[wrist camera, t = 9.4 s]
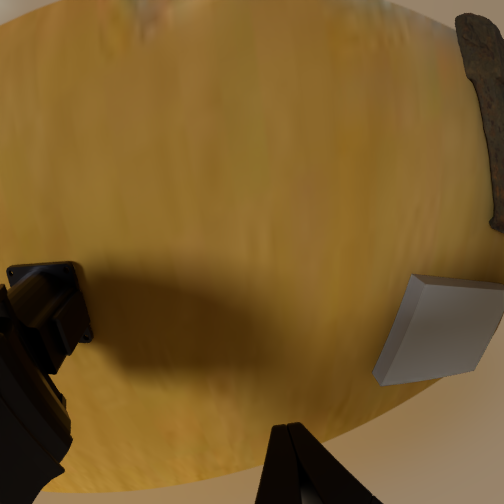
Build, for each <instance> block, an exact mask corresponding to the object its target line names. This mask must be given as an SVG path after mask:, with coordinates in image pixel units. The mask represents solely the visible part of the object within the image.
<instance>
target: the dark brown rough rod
mask: <svg viewBox="0 0 504 504" xmlns="http://www.w3.org/2000/svg"><path fill="white" fill-rule="evenodd" d="M455 27H456V32H457V37H458V44H459V46H460V50H461V54H462V57H463V62H464V67H465V72H466V76H467V78H468V79H469V80H471V81H472V82H473V84H474V86H475V89H476V91H477V94H478V98H479V102H480V107H481V113H482V118H483V126H484V130H485V133H486V137H487V143H488V149H489V157H490V167H491V174H492V185H493V199H494V217H493V218H492V219H491V220H490V221H489V224H490V226H491V228H493V229H496V230H498V231H500V232H501V233H504V39H503V38H502V36H501V34H500V31H499V29H498V28H497V26H496V25H494V24H493V23H492V22H491V21H490V20H489V19H487V18H485V17H483V16H480V15H475V14H472V13H464V14H462V15H459V16H457V17H456V18H455Z"/></svg>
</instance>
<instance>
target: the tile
mask: <svg viewBox="0 0 504 504" xmlns="http://www.w3.org/2000/svg"><path fill="white" fill-rule="evenodd" d="M503 312H504V285H502V284H501V283H491V282H482V281H473V280H464V279H455V278H446V277H436V276H427V275H418V274H411V277H410V280H409V283H408V286H407V289H406V291H405V294H404V297H403V300H402V303H401V305H400V308H399V311H398V313H397V316H396V318H395V321H394V323H393V326H392V328H391V331H390V333H389V336H388V338H387V340H386V343H385V345H384V347H383V350H382V352H381V354H380V356H379V359H378V361H377V363H376V365H375V367H374V369H373V372H372V374H373V375H374V377H375V378H376V380H377V382H378V383H379V385H380V386H387V385H395V384H403V383H410V382H417V381H423V380H429V379H435V378H441V377H446V376H451V375H456V374H461V373H465V372H470V371H474V370H475V368H476V366H477V365H478V363H479V361H480V359H481V357H482V355H483V353H484V352H485V350H486V348H487V346H488V344H489V342H490V340H491V338H492V336H493V334H494V332H495V330H496V328H497V325H498V323H499V321H500V319H501V317H502V314H503Z"/></svg>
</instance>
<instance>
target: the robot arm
mask: <svg viewBox="0 0 504 504" xmlns="http://www.w3.org/2000/svg"><path fill="white" fill-rule="evenodd" d="M66 267H67V268H68V269H69V271H67V270H66ZM11 271H12V272H13V274H12V272H11ZM6 273H7V277H8V280H9V283H10V287H11V288H10V289H9V290H8V291H7V289H6V287H5V284H0V504H32V503H33V501H34V500H35V498H36V497H37V495H38V493H39V492H40V491H41V489H42V488H43V487H44V486H45V485H46V484H47V483H49V482H50V481H51V480H52V479H54V478H55V477H57V476H59V475H61V474H63V473H64V472H65V469H64V468H63V467H62V466H61V465H60V464H59V463H60V462H61V461H62V460H63V458H64V457H65V455H66V454H67V452H68V451H69V449H70V446H71V443H72V441H73V438H72V436H71V435H70V433H71V420H70V418H69V415H68V413H67V411H66V399H65V397H64V396H63V394H62V393H60V392H59V391H58V389H57V388H56V386H55V384H54V383H53V381H52V380H51V378H50V377H49V375H48V374H53V375H55V374H57V372H58V370H59V368H60V367H61V365H62V363H63V361H64V359H65V358H66V356H70V355H71V354H72V353H73V351H74V349H75V347H76V346H77V344H78V343H90V342H91V341H92V339H93V333H92V330H91V327H90V318H89V315H88V312H87V308H86V305H85V301H84V298H83V294H82V292H81V291H80V289H79V285H78V281H77V277H76V273H75V268H74V266H73V264H72V263H70V262H67V261H66V262H52V263H38V264H24V265H12V266H10V267H8V268H7V270H6ZM85 335H87V336H88V337H86V336H85ZM255 504H383V503H382V502H381V501H380V500H378V499H377V498H376V497H375V496H372V493H371V492H370V491H369V490H367V489H366V488H365V487H364V486H363V485H362V484H361V483H360V482H359V481H358V480H357V479H356V478H355V477H354V476H353V475H352V474H351V473H350V472H349V471H348V470H346V469H345V467H344V466H343V465H342V464H340V463H339V462H338V461H337V460H336V459H335V458H334V456H332V454H331V453H330V452H328V451H327V450H326V448H324V446H323V445H322V444H321V443H320V442H319V441H318V440H317V439H316V438H315V437H314V436H313V435H312V434H311V433H310V432H309V431H308V430H307V429H306V427H305V426H304V425H303V424H302V423H300V422H295V423H289V424H287V425H285V424H281V425H274V426H273V427H272V429H271V434H270V439H269V443H268V448H267V453H266V457H265V462H264V466H263V471H262V475H261V479H260V484H259V488H258V492H257V496H256V500H255Z"/></svg>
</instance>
